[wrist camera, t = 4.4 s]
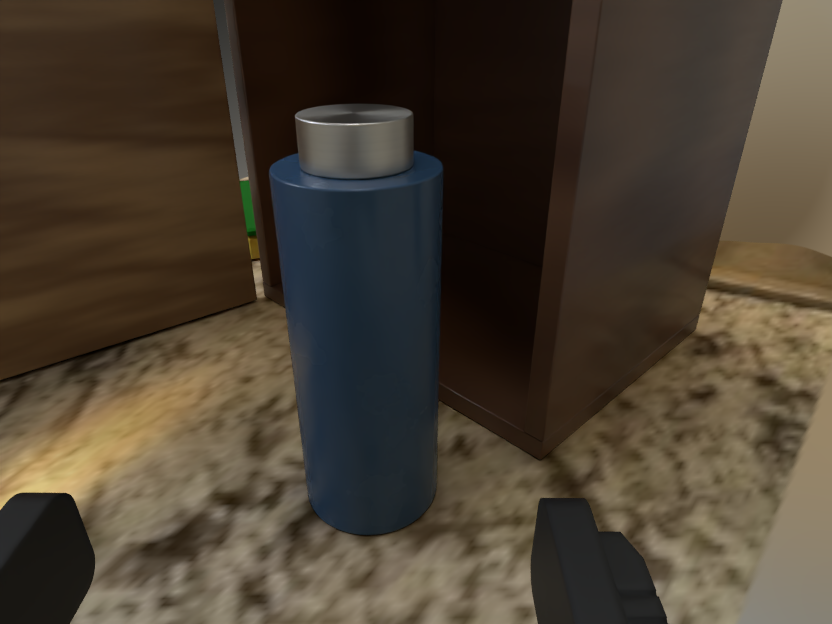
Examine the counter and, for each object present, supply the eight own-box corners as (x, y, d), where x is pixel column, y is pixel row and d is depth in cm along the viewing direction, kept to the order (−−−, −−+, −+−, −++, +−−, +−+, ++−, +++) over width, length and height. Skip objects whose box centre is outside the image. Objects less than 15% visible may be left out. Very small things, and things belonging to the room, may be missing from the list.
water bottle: (462, 484, 24) (482, 112, 17) (365, 560, 20) (338, 140, 14) (378, 425, 27) (365, 94, 20) (282, 483, 24) (227, 112, 17)
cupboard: (540, 460, 25) (645, -327, 13) (264, 295, 39) (200, -162, 27) (696, 329, 35) (832, -189, 23) (431, 235, 48) (436, -119, 37)
